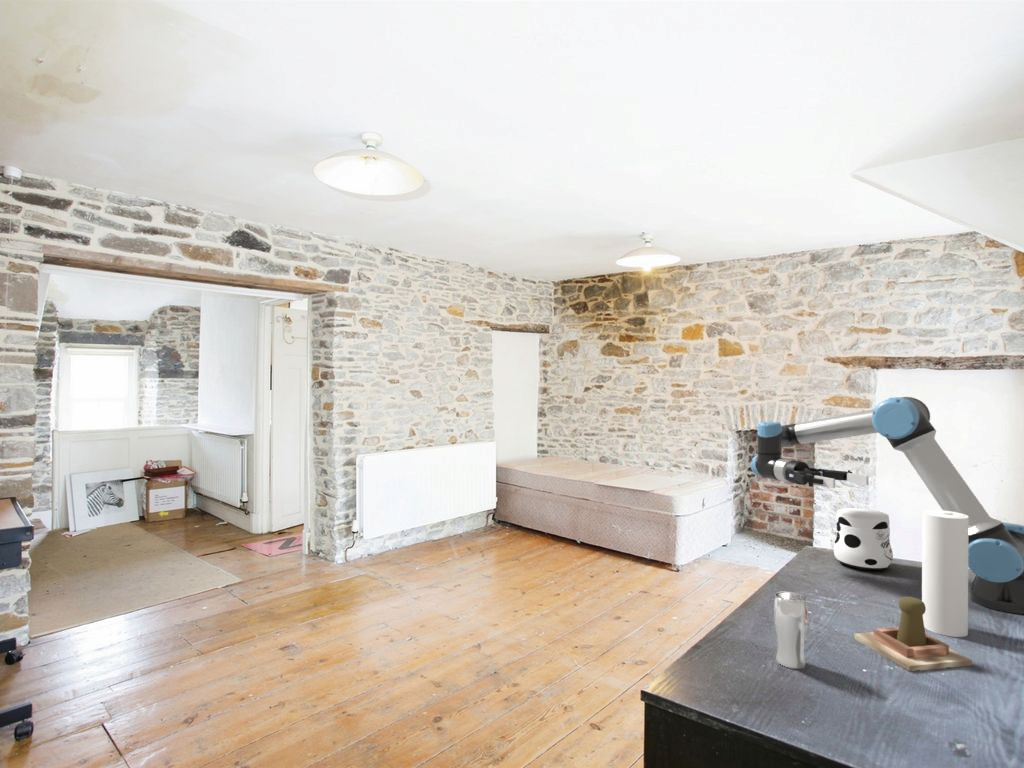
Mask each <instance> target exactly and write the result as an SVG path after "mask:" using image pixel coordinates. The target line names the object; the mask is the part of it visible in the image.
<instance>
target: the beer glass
mask: <svg viewBox="0 0 1024 768" xmlns="http://www.w3.org/2000/svg"><path fill="white" fill-rule="evenodd" d="M807 600H808V598H807V597H806V596H805V595H803V594H801V593H798V592H794V591H787V590H781V591H777V592H775V593H774V601H773V621H774V622H773V623H774V628H775V634H776V639H777V649H776V653H775V661H776V662H777V663H778V664H779V665H780V664H781V666H782V665H783V666H782V667H784V666H785V668H787V667H788V669H794V670H800V669H803V668H805V667H806V664H807V663H806V658H805V653H804V651H805V649H804V648H805V642H806V641H805V640H806V636H807V630H808V624H809V613H808V601H807Z"/></svg>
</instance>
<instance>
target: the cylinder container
mask: <svg viewBox="0 0 1024 768" xmlns="http://www.w3.org/2000/svg"><path fill="white" fill-rule="evenodd" d="M921 512H922V514H921V515H922V517H921V518H922V519H921V520H922V521H921V525H922V526H921V528H922V529H921V531H922V532H921V538H922V539H921V541H922V542H921V601H923V602H924V604H925V607H926V611H925V613H924V614H923V621H924V628H925V630H928V631H929V632H932V633H936V634H938V635H941V634H942V636H945V635H946V636H947V637H952V638H953V637H954V638H963V637H967V636H968V634H969V567H968V524H969V517H968V516H967V515H965V514H962V513H958V512H952V511H944V510H942V509H925V510H922V511H921ZM946 636H945V637H946Z"/></svg>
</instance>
